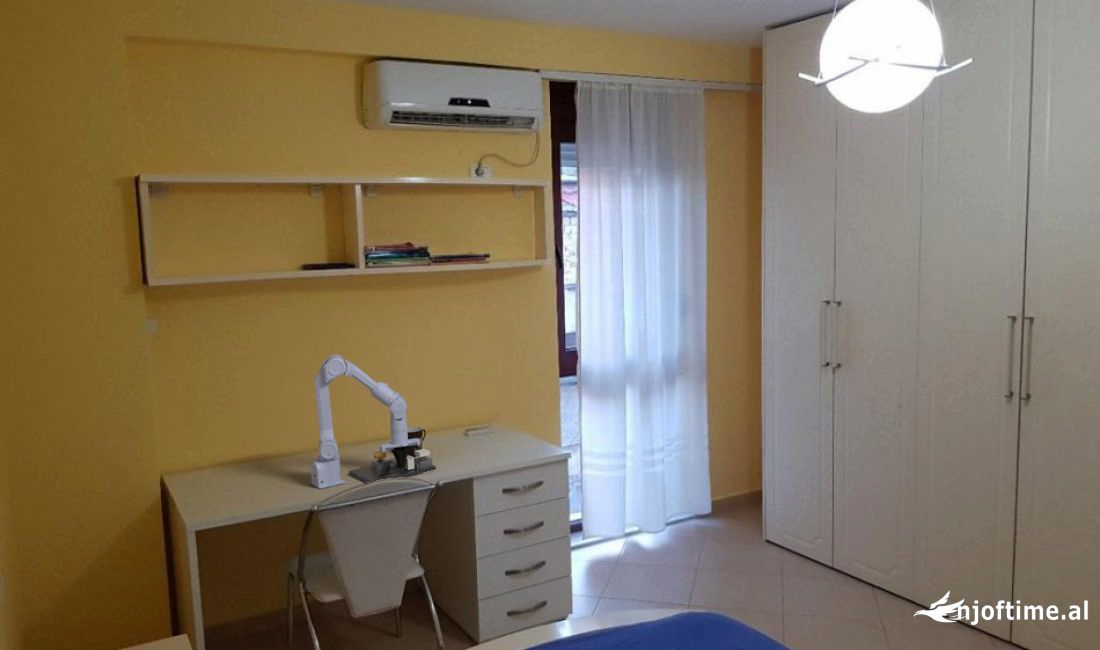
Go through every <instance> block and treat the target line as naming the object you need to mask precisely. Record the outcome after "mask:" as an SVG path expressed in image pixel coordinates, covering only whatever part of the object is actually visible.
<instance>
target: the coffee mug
mask: <svg viewBox="0 0 1100 650" xmlns="http://www.w3.org/2000/svg"><path fill="white" fill-rule="evenodd" d="M407 432H408V439H415V438H418V439H419V440H420V444H419V445H412V446H408V448H410V451H409V453H408V455H409V456H411V457H414V458H417V457H416V455H415V454H414V451H416V450H421V449H423V441H424V440H425V438H426V435H427V432H426V430H425V428H423V427H420V426H409V427H408V426H407ZM423 433H424V434H423Z"/></svg>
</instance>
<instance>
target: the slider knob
mask: <svg viewBox="0 0 1100 650" xmlns="http://www.w3.org/2000/svg"><path fill="white" fill-rule="evenodd" d="M414 458H415V457H411V456H409V455H407V458H406V461H405V467H404V468H405V469H407V470H410V469H414Z"/></svg>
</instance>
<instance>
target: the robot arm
mask: <svg viewBox="0 0 1100 650" xmlns="http://www.w3.org/2000/svg"><path fill="white" fill-rule="evenodd" d="M342 375H343V376H344V377H351V378H353V379H354V380H357V381H358V382H359V383H360V384H362V385H363V386H365V387H366V388H368V389H369V390H370V395H371V396H372V397H373V398H375V399H376V400H377V401H379V402H380V403H381V404H383V405H384V406H386V407H388V408H389V414H390V415H389V416H390V418H389V421H390V422H389V423H390V437H391V438H390V439H391V442H388V443H385V444H382V445H379V451H381V452H387V451H391V453H392V455H393V457H395V459H396V461H397V464H398V468H400V469H403V468H404V467H405V461H406V458H407V455H408V453H409V451H410V448H408V446H412V445H419V444H420V440H419V439H418V438H415V439H408V432H407V427H408V420H407V419H408V417H407V410H408V409H407V408H408V405H407V401H406V400H405V399H404V397H403V396H402V395H401V394H399V392H398V391H394V390H393V389H392V388H390V387H389V384H388V383H387V382H383V381H377V382H376V381H375V380H374V379H373V378H372V377H370V376H369V375H367V374H366V372H364V371H363V370H362V369H360V368H359V367H358V366H357V365H355V364H354V363H352V362H351V361H349V360H348V359H346V358H345V359H344V358H343V357H342V356H341V355H339V354H332V355H330V356H329V357H328V358H326V359H325V360H324V361H323V362H322V365H321V367H320V368H319V370H318V372H317V374H316V375H315V377H314V381H313V382H314V393H315V401H316V409H317V410H316V411H317V419H318V427H319V437H320V439H319V441H318V454H319V455H318V457H317V459H316V460H313V461H311V463H310V474H311V483H310V484H311V485H313V486H314V487H316V488H317V489H326V488H329V487H334V486H339V485H343V484H346V483H347V481H346V480H344V479H342V471H341V469H342V468H341V457H340V456H341V455H340V454H339V447H338V441H337V440H336V438H335V436H334V427H333V426H334V425H333V418H332V410H331V409H332V408H331V398H330V397H331V396H330V389H329V385H330V384H332V382H333V381H334V380H335V379H336V378H338V377H340V376H342Z"/></svg>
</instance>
